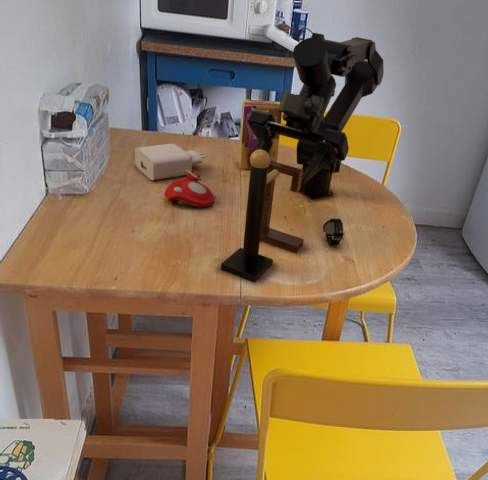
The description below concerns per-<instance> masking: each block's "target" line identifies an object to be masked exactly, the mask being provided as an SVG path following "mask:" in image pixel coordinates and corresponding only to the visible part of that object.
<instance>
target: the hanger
mask: <svg viewBox="0 0 488 480" xmlns="http://www.w3.org/2000/svg"><path fill="white" fill-rule="evenodd" d="M273 170H278V172H279V174H283V175H285V176H289V177H291V182H290V190H289V191H290V192H293V193H296V194H297V193H298V192H299V190H300V187H301V181H302V174H303V170H302V168H298V167H294V166H290V165H289V164H284V163H281V162H278V161H277V162H274V161H271V160H270V164H269V166H268V174H269V173H270V172H271V171H273ZM275 183H276V178H275V179H273V180H272V181H270V182H269V183H268V184H266V191H265V200H264V209H263V218H262V227H261V235H260V242H263V243H265V244H268V245H272V246H274V247H277V248H280V249H283V250H286V251H288V252H291V253H294V254H297V253H298V252H299V250H300V249H302V247H304V242H305V239H304V238H301V237H298V236H295V235H292V234H289V233H286V232H284V231H281V230H277V229H274V228H272V227H270V226H271V220H272V219H271V217H272V211H273V201H274V193H275V186H276V184H275Z"/></svg>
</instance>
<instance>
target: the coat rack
mask: <svg viewBox="0 0 488 480" xmlns="http://www.w3.org/2000/svg"><path fill="white" fill-rule="evenodd" d="M250 163H251V169H249V170H250V171H249V180H248V190H247V191H248V192H247V202H246V211H245V212H246V213H245V224H244V234H243V235H244V236H243V245H242V247H239V248H238V249H237V250H236V251H234V252H233V253H232V254H231V255H230V256H228V257H227V258H226V259H225V260H224V261H223V262H221V264H220V271H223V272H226V273H228V274H230V275H233V276H236V277H239V278H241V279H244V280H247V281H249V282H252V283H256V282H257V281H258V280H259V279H260V278H261V277H262V276H263V275H264V274H265V273H266V272H267V271H268V270H269V269H270V268H271V267H272V266H273V263H274V259H273V258H270V257H268V256H265V255H262V254H260V245H261V244H260V243H261V241H260V235H261V227H262V218H263V209H264V200H265V191H266V184H268V183H269V182H270V181H272V180H273V179H275V180H276V178H277V177H279V176H280V173H279V172H278V170H273V171H271V172H270V173H269V174H268V166H269V164H270V156H269V154H268V153H267V152H266V151H264V150H256V151H254V152H253V153H252V155H251V157H250Z"/></svg>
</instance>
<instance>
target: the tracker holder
mask: <svg viewBox="0 0 488 480" xmlns="http://www.w3.org/2000/svg"><path fill="white" fill-rule="evenodd" d="M186 171H187V172H188V174H187V175H186V177H185V178H182V179H178V180H175V181H173V182H171V183H169V184H168V186H167V187H166V189H165V191H164V196H165V198H166V200H167V202H169V203H171V202H173V201H175V200H176V201H177V200H178V201H180V202H183V203H186V204H187V205H191V206H195V207H197V208H207V207H211V206H212V204H213V203H214V200H215V199H214V198H215V197H214V193H213V192H212V190H211V189H210V188H209V187H207V186H206V185H204V184H203V183H201V182H202V178H200V177H201V176H200V174H198V173H197V172H195V171H193V170H192V171H189V170H186Z"/></svg>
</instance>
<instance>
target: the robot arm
mask: <svg viewBox="0 0 488 480" xmlns="http://www.w3.org/2000/svg"><path fill="white" fill-rule="evenodd" d="M292 57H293V61H294V64H295V68H296V71H297V75H298V78H299V81H300V82H301V83H302V87H301V89H300V91H299V93H297V94H296V93H295V94H294V93H291V92H286V91H284V92H282V96H281V99H280V101H279V102H280V106H279V109H278V111H279V112H282V117H281V119H282V120H283V121H284V122H285V124H283V123H281V124H280V123H276V122H275V120H274V118H273V115H272V114H271V113H267V112H263V111H259V110H254V111H252V112H251V113H250V115H249V117H248V119H247V122H248V124H249V126H250V128H251V130H252V132H253V134H254V135H255V136H256V137H257V150H264V151H266V152H267V153H269V151H270V149H271V147H272V145H273V142H272V140H271V139H273V138H275V135H276V134H279V136H283V137H286V138H290V139H294V140H297V143H296V164H297V165H301V166H302V167H301V170H303V174H302V181H301V187H300V190H299V191H298V192H299V193H301V194H302V195H303V196H305V197H307V199H310V200H318V199H322V198H327V197H331V196H334V192H333V191H332V190H330V187H331V181H332V177H333V174H335V173H340V171H341V166H342V162H343V161H345V160H346V158H347V156H348V153H349V149H350V147H349V142H348V137H347V134H346V133H345V132H343V130H344V128H345V127H346V125H347V123H349V122H348V121H349V120H350V118H351V117H352V115H353V114H354V112H355V110H356V108H357V106H358V105H359V103H360V101H361V100H362V98H364V97H367V96H369V95H372V94H373V93H374V92H375V91H376V90H377V88H378V86H380V85H381V84H382V81H383V78H384V74H385V71H384V69H385V68H384V67H385V66H384V59H383V58H382V56H381V54H380V53H379V52H378V51H377V48H376V42H375V41H373V39H368V38H363V37H359V36H355V37H352V38H350V39H348V40H344V41H341V42H340V41H336V40H330V39H326V38H325V34H322V33H318V32H313V33H312V34H311V37H307V38H304V39H302V40H301V41H299V42H298V43H297V44H296V45H294V48H293V50H292ZM334 76H335V77H341V78H344V85H343V87H342V88H341V90H340V92H339V93H338V95H337V96H336V98H335V100H334V101H333V103H332V104H331V106H330V107H329V109H328V111H327V108H328V106H329V104H330V101H331V99H332V97H335V95H336V88H337V81H336V79H335V77H334ZM326 111H327V113H326ZM325 113H326V114H325Z"/></svg>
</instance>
